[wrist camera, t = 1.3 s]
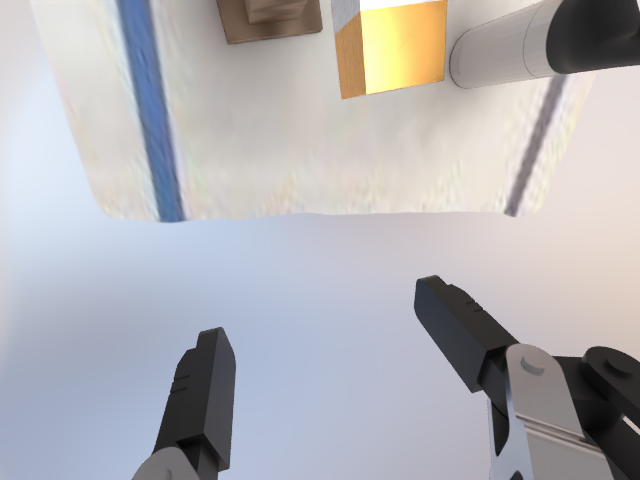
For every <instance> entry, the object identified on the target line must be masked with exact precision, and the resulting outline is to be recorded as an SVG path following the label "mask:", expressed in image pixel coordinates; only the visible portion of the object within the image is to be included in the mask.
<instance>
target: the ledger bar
mask: <svg viewBox="0 0 640 480" xmlns="http://www.w3.org/2000/svg"><path fill="white" fill-rule="evenodd" d="M331 8H332V17H333V26H334V35H335V44H336V53H337V62H338V71H339V80H340V89H341V98H342V99H347V98H353V97H358V96H364V95H369V94H375V93H380V92H386V91H392V90H397V89H403V88H408V87H413V86H417V85H422V84H427V83H432V82H437V81H442V80H444V60H445V37H446V15H447V0H331Z"/></svg>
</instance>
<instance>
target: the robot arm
mask: <svg viewBox="0 0 640 480" xmlns="http://www.w3.org/2000/svg"><path fill="white" fill-rule="evenodd" d="M633 65H640V11H639V8H638V4H637V0H543V1H540V2H538V3H536V4H533V5H531V6H528V7H526V8H523V9H521V10H518V11H516V12H513V13H511V14H508V15H506V16H503V17H501V18H498V19H496V20H493V21H491V22H488V23H486V24H483V25H481V26H478V27H476V28H474V29H471V30H469V31H467V32H466V33H464V34H463V35H462V36H461V37H460V38H459V40H458V41H457V43H456V44H455V46H454V49H453V51H452V55H451V60H450V71H451V76H452V78H453V80H454V82H455V83H456V84H457V85H458V86H459V87H462V88H466V89H468V88H475V87H482V86H490V85H497V84H504V83H511V82H517V81H524V80H531V79H538V78H544V77H551V76H558V75H565V74H571V73H578V72H585V71H593V70H600V69H607V68H614V67H624V66H633ZM414 309H415V313H416V316H417V318H418V319H419V321H420V322H421V324H422V325H423V326H424V328H425V329H426V331H427V332H428V333H429V335H430V336H431V337H432V339H433V340H434V342H435V343H436V344H437V346H438V347H439V349H440V350H441V351H442V353H443V354H444V355H445V357H446V358H447V360H448V361H449V362H450V364H451V365H452V366H453V368H454V369H455V371H456V372H457V373H458V375H459V376H460V377H461V379H462V380H463V382H464V383H465V384H466V386H467V387H468V389H469V390H470V391H471V393H474V392H477V391H481V390H484V392H485V393H486V394H487V396H488V399H487V406H488V421H489V434H490V448H491V468H490V474H489V480H640V435H638V433H636V432H635V431H634V430H633V429H632V428H631V427H630V426H629V425H628V424H627V423H626V422H625V421H624V420H623V418H624V417H625V416H626V417H627V418H629V419H630V420H631V421H632V422H633V423H634V424H635V425H636V426H637V427H638V428H639V429H640V362H639V361H637V360H636V359H634V358H633V357H631V356H629V355H627V354H625V353H623V352H620V351H618V350H615V349H612V348H608V347H601V346H596V347H591V348H590V349H588V350H587V351H586V353H585V355H584V356H583V357H561V356H551V355H549V354H548V353H547V352H545V351H543V350H541V349H539V348H537V347H535V346H532V345H528V344H521V343H519V342H518V341H517V340H516V339H515V338H514V337H513V336H511V334H510V333H508V331H506V330H505V329H504V328H503V327H502V326H501V325H500V324H499V323H498V322H497V321H496V320H495V319H494V318H493V317H492V316H491V315H490V314H488V313H487V312H486V311H485V310H483V308H482V307H481V306H480V305H479V304H478V303H477V302H476V303H475V300H474V299H473V298H471V297H470V296H469V295H468V294H467V293H466V292H465V291H463V290H462V289H460V288H458V287H456V286H454V285H452V284H450V285H447V284H446V283H445V282H444V281H443V280H442V279H441V278H440V277H439V276H437V275H433V276H429V277H425V278H421V279H418V280H417V282H416V292H415V301H414ZM235 372H236V362H235V355H234V352H233V349H232V347H231V345H230V343H229V341H228V338H227V336H226V334H225V331H224V330H223V328H222V327H218V328H214V329H210V330H206V331H202V332H200V333H199V336H198V340H197V346H196V348H193V349H189V350H187V351H186V353H185V354H184V356H183V357H182V359H181V360H180V362H179V363H178V365H177V368H176V372H175V376H174V382H173V383H172V387H171V390H170V395H169V397H168V401H167V405H166V408H165V412H164V415H163V419H162V423H161V426H160V430H159V434H158V438H157V441H156V444H155V447H154V450H153V452H152V454H151V456H150V457H149V458H148V459H147V460H146V461H145V462H144V463H143V464H142V465H141V466H140V467H139V469H138V470H137V472H136V473H135V475H134V477H133V478H132V480H217V479H218V472H220V471H223V470H227V469H229V467H230V450H231V436H232V420H233V404H234V387H235Z"/></svg>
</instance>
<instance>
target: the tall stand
mask: <svg viewBox="0 0 640 480" xmlns="http://www.w3.org/2000/svg"><path fill="white" fill-rule="evenodd" d="M217 3H218V7H219V11H220V15H221V19H222V22H223V26H224V30H225V34H226V38H227V42H228V44H234V43H242V42H249V41H257V40H264V39H271V38H279V37H286V36H294V35H301V34H309V33H316V32H321V30H322V29H323V27H322V19H321V11H320V4H319V0H217Z"/></svg>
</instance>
